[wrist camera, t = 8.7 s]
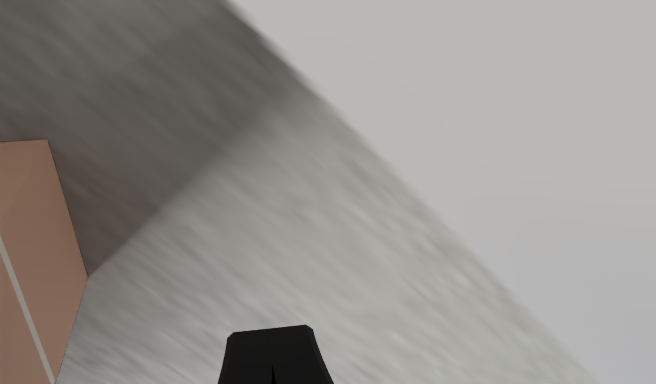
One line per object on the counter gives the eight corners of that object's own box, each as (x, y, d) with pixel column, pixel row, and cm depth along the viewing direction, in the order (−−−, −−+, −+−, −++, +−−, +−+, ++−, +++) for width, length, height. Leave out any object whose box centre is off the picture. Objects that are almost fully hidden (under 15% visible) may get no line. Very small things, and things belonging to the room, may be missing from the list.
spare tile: (46, 281, 15) (-67, 572, 10) (-1, 142, 13) (-185, 407, 7) (88, 278, 15) (1, 563, 10) (48, 139, 13) (-97, 398, 7)
